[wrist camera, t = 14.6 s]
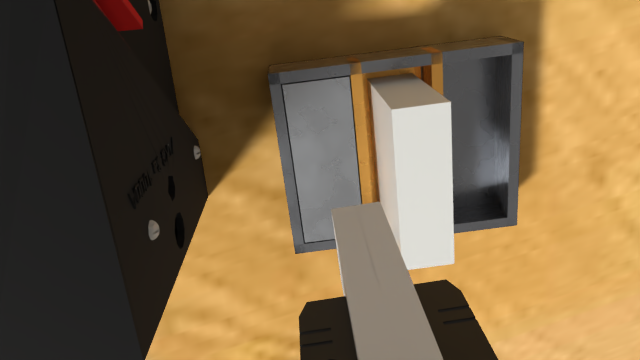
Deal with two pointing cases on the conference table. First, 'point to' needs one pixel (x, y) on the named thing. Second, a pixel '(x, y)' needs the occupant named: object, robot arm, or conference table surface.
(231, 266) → the conference table surface
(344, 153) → the rack
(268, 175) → the conference table surface
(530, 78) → the conference table surface
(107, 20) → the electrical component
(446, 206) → the white rectangular block
